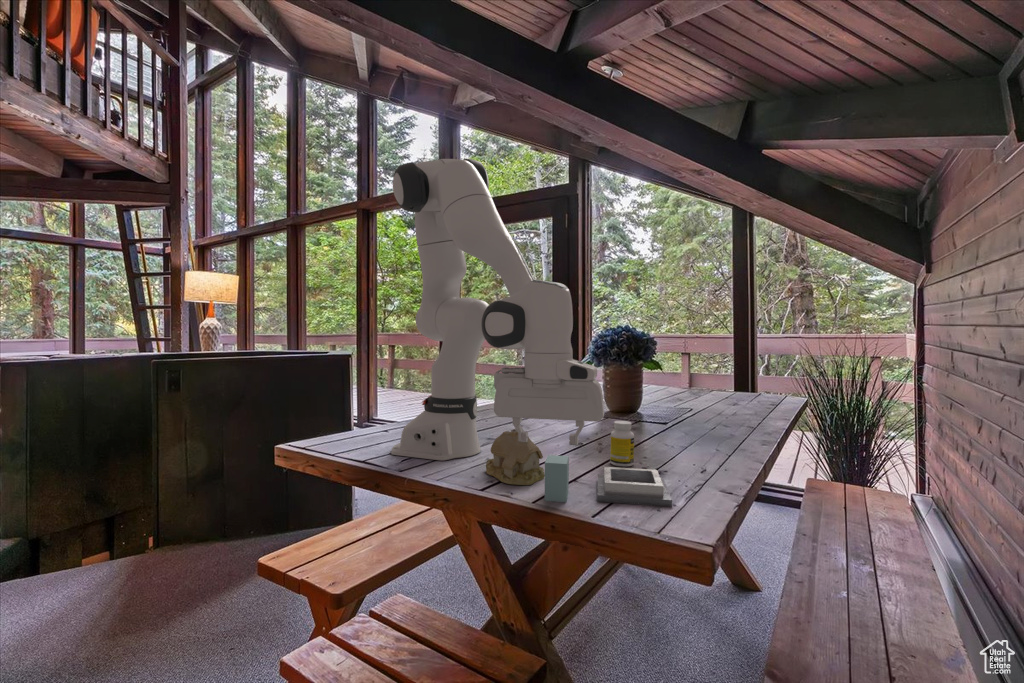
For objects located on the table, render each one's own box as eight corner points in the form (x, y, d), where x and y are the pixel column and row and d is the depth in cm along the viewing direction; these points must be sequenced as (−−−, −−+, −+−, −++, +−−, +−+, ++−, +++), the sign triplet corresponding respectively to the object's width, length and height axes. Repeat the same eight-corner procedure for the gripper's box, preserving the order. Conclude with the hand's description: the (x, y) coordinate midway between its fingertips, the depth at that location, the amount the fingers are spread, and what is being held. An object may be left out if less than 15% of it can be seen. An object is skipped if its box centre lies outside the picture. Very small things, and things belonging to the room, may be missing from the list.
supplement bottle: (634, 467, 109) (635, 425, 109) (610, 466, 111) (610, 423, 110) (633, 461, 115) (633, 420, 115) (610, 460, 116) (610, 419, 116)
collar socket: (597, 501, 88) (597, 484, 88) (597, 479, 100) (597, 464, 100) (671, 506, 85) (672, 488, 85) (662, 483, 98) (662, 468, 98)
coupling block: (544, 500, 88) (544, 462, 88) (547, 490, 94) (548, 455, 93) (566, 502, 87) (566, 463, 87) (568, 492, 93) (568, 456, 93)
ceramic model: (556, 477, 102) (556, 430, 102) (519, 489, 94) (519, 438, 94) (509, 464, 112) (509, 421, 112) (472, 474, 104) (472, 428, 104)
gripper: (489, 368, 88) (489, 443, 88) (603, 370, 83) (602, 450, 83) (498, 365, 94) (498, 436, 94) (605, 368, 89) (604, 442, 90)
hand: (548, 443), depth 89 cm, fingers open, 8 cm apart
